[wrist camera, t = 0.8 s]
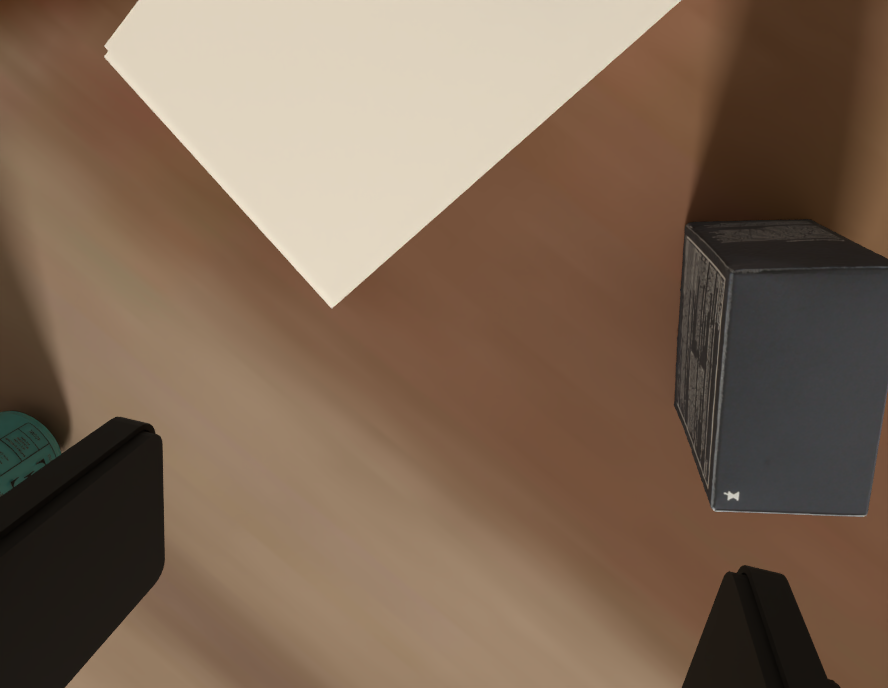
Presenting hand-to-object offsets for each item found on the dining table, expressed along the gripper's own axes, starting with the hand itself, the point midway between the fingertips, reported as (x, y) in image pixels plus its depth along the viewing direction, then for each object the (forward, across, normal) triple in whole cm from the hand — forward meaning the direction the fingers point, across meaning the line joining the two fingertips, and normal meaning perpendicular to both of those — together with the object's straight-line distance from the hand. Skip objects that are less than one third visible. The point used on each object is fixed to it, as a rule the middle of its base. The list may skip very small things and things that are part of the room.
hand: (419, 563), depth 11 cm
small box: (+28, -11, +2) cm, 30 cm away
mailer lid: (+24, +7, -9) cm, 26 cm away
